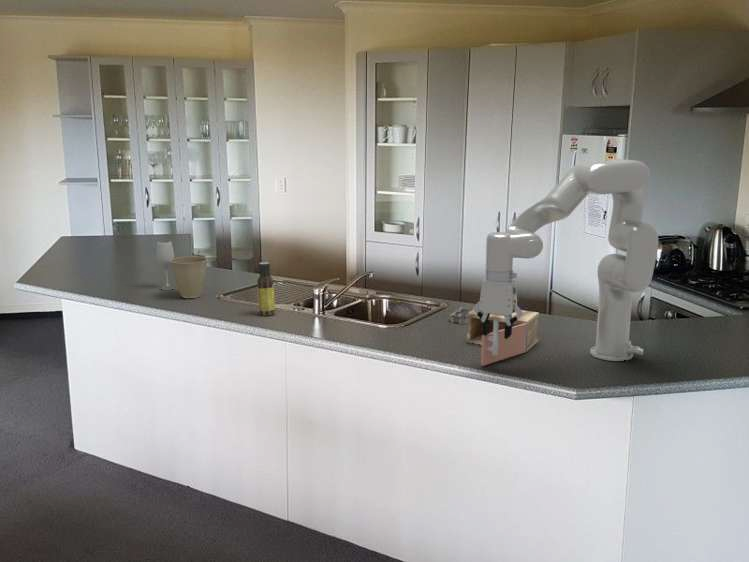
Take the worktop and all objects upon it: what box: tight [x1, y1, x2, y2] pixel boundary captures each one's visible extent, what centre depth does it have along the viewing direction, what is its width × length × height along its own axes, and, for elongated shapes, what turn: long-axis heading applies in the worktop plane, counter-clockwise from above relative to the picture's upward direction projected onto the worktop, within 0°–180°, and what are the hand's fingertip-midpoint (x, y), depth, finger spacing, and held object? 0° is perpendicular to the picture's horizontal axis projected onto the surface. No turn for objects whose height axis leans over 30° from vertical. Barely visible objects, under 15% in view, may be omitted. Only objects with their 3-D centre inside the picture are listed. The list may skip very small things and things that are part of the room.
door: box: [480, 318, 528, 366], centre depth 211 cm, size 20×4×15 cm, turn 129°
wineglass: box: [155, 240, 175, 286], centre depth 306 cm, size 8×8×21 cm
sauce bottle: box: [256, 261, 276, 317], centre depth 264 cm, size 6×6×20 cm
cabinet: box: [466, 307, 540, 352], centre depth 229 cm, size 20×12×10 cm, turn 60°
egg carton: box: [448, 305, 470, 325], centre depth 256 cm, size 11×8×4 cm
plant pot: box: [170, 256, 208, 297], centre depth 292 cm, size 15×15×16 cm
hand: (496, 335), depth 204 cm, fingers open, 5 cm apart
